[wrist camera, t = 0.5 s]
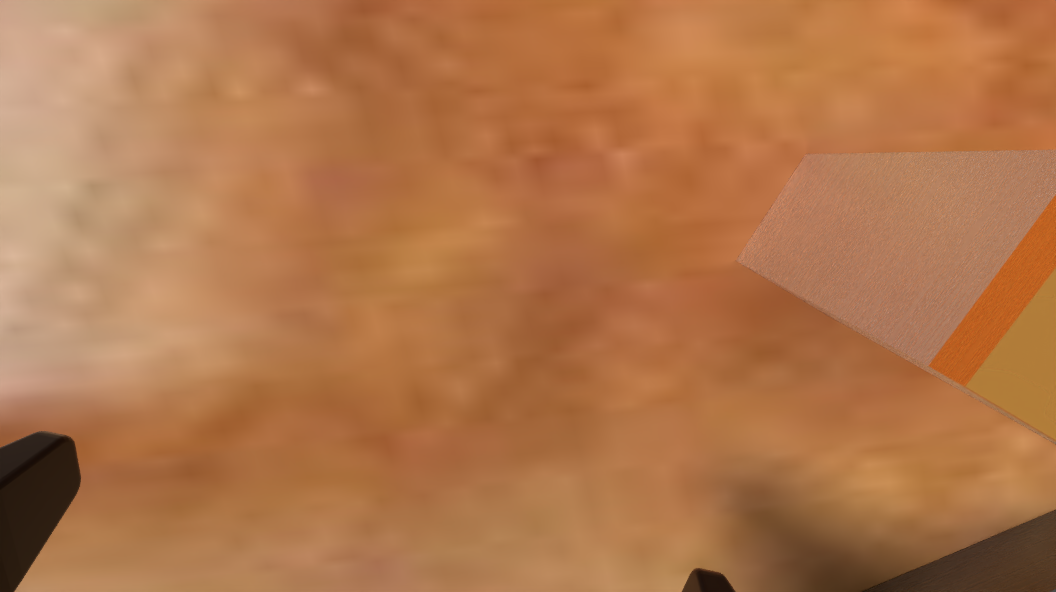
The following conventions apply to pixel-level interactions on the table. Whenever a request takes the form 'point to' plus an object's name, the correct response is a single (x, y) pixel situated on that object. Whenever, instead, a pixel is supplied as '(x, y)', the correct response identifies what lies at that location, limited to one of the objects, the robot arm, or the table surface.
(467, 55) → the table surface
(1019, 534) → the gray slotted board
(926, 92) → the table surface
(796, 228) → the grey square peg
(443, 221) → the table surface
